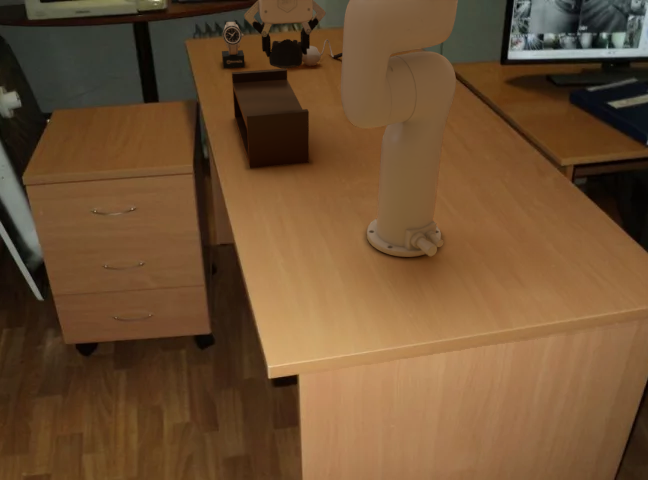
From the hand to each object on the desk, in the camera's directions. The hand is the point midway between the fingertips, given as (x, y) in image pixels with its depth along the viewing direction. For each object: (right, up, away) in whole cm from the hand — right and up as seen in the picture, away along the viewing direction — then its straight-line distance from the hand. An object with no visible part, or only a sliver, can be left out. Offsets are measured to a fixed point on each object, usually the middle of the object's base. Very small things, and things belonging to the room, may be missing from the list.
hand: (286, 52), depth 146 cm
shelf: (-4, -15, +10) cm, 19 cm away
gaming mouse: (0, -1, +1) cm, 1 cm away
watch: (-16, +11, +48) cm, 52 cm away
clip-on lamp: (+3, +13, +51) cm, 53 cm away
